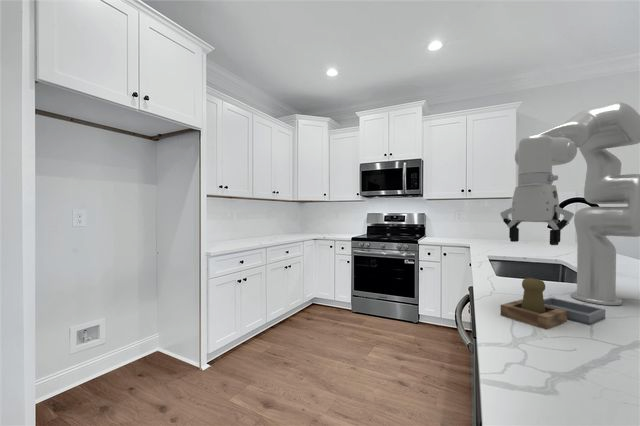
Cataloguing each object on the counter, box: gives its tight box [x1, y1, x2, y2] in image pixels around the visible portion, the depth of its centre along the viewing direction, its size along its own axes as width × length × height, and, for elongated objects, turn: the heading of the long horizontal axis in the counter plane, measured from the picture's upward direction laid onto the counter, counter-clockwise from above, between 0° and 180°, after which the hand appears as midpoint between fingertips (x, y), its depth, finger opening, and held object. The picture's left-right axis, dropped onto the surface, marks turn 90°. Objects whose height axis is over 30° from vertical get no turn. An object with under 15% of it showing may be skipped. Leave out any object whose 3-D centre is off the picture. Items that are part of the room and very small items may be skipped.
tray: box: [543, 297, 606, 326], centre depth 84 cm, size 11×13×2 cm
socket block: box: [500, 299, 568, 330], centre depth 80 cm, size 11×11×3 cm
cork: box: [521, 277, 546, 314], centre depth 80 cm, size 6×6×11 cm
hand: (533, 243), depth 80 cm, fingers open, 9 cm apart
